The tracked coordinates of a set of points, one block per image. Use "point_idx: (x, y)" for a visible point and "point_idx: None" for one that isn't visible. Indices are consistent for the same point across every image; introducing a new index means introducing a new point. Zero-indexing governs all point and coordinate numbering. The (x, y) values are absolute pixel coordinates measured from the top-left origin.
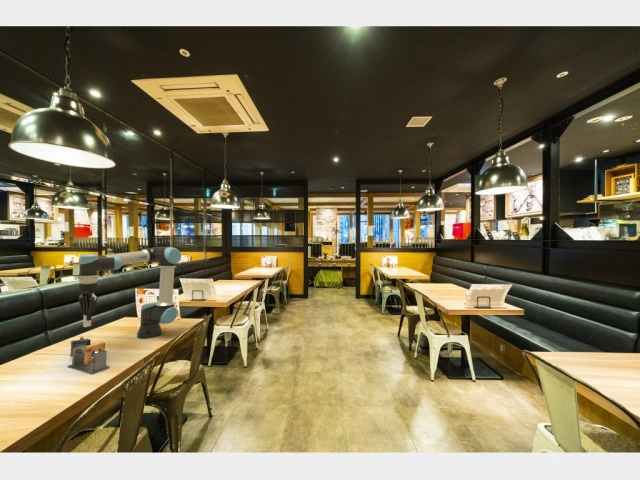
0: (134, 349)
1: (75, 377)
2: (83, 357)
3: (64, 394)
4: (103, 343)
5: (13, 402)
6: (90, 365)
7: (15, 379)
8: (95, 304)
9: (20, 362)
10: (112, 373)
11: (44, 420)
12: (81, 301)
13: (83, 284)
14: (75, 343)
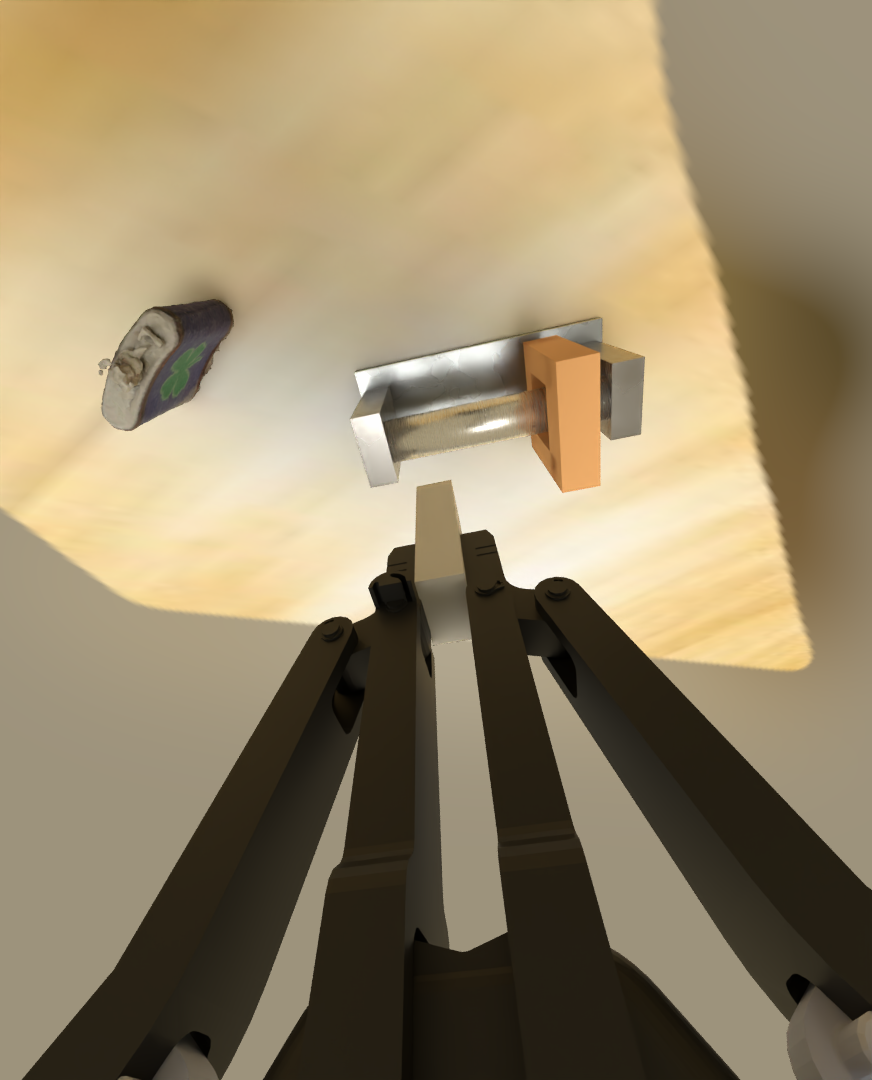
0: None
1: None
2: (390, 405)
3: (682, 544)
4: (596, 368)
5: None
6: (482, 388)
7: (359, 608)
8: (721, 745)
9: (130, 569)
10: (693, 342)
11: (792, 612)
12: (278, 916)
13: None
14: (152, 404)
